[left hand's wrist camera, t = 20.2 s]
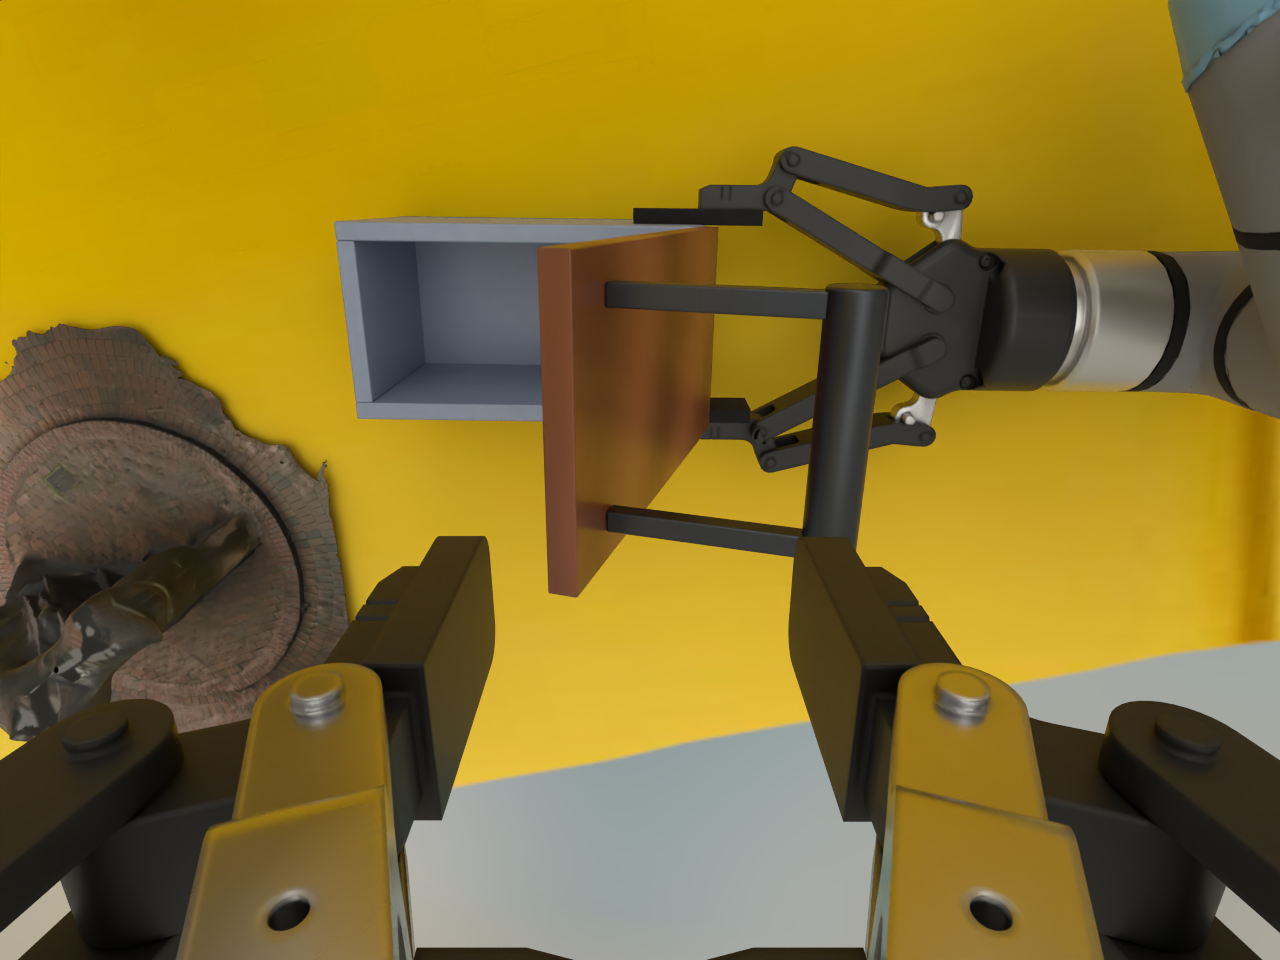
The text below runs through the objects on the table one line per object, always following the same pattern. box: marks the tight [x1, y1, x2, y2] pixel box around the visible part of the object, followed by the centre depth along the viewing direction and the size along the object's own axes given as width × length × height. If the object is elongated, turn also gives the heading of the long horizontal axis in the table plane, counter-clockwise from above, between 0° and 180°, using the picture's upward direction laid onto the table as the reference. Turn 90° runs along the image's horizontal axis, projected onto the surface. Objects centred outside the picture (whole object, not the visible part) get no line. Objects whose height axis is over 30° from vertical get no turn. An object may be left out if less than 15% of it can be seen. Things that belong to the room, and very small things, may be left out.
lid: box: [537, 227, 888, 597], centre depth 27 cm, size 18×10×8 cm
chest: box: [334, 216, 706, 421], centre depth 42 cm, size 18×10×11 cm, turn 89°
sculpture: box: [0, 324, 350, 742], centre depth 46 cm, size 33×35×16 cm
